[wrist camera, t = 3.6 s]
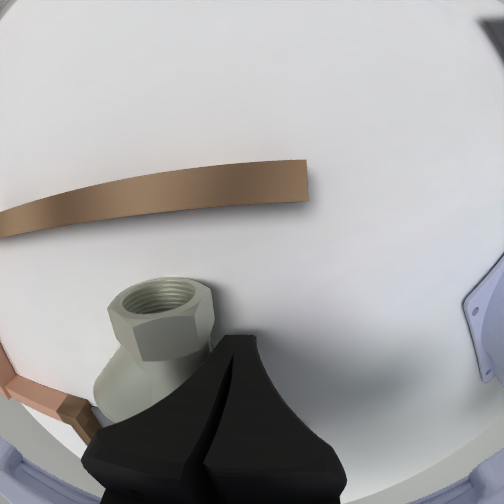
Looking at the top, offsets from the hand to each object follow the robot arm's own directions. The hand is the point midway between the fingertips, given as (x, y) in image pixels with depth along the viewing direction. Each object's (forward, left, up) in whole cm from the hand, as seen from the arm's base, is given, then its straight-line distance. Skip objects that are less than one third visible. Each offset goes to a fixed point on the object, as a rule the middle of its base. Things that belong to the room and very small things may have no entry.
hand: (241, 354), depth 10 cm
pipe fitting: (+2, +4, -1) cm, 5 cm away
